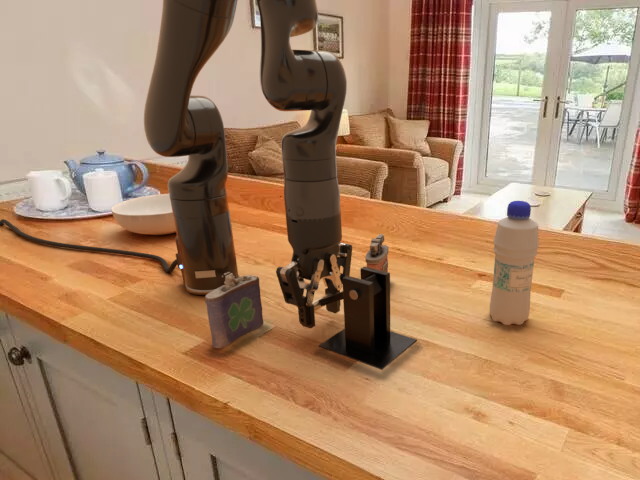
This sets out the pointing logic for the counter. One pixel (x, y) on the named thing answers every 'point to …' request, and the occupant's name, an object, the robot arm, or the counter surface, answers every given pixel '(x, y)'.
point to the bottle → (514, 264)
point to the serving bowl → (146, 215)
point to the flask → (234, 309)
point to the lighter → (378, 254)
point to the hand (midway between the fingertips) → (320, 318)
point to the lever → (332, 298)
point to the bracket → (368, 323)
